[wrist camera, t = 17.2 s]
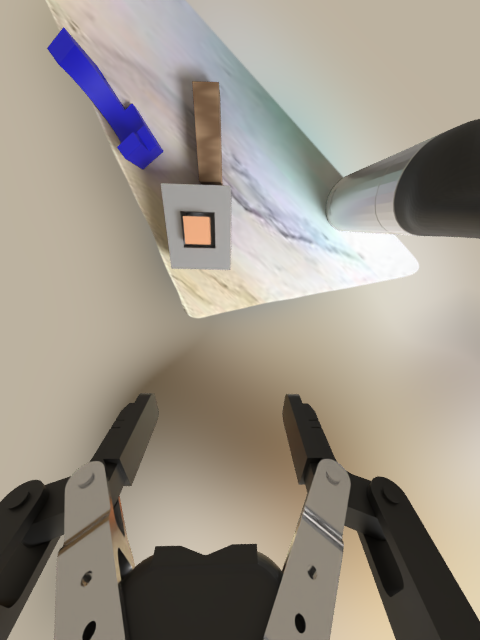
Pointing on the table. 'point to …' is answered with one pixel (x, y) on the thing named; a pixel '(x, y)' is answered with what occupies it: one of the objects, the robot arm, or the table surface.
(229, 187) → the box
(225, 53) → the table surface
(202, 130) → the brown wooden plank
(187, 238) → the button
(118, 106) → the blue bent block
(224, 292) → the table surface
